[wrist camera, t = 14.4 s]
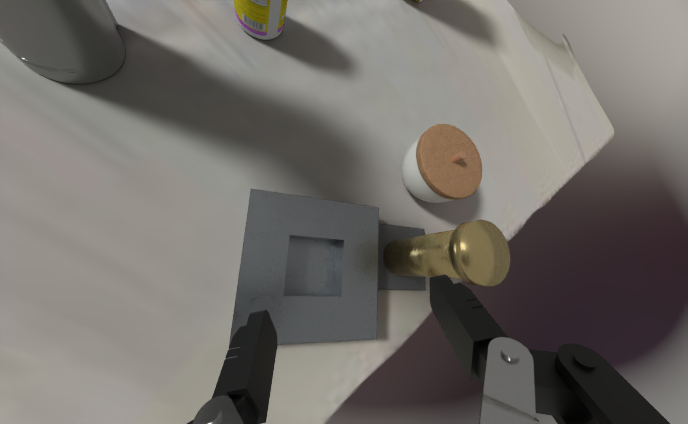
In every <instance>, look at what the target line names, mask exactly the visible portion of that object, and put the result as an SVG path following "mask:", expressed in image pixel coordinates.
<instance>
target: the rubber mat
mask: <svg viewBox="0 0 688 424" xmlns="http://www.w3.org/2000/svg"><path fill="white" fill-rule="evenodd" d="M422 235H424V229H419V228H411V227H402V226H394V225H386V224H378V283H377V289H402V290H426V288H425V277H418V276H400V275H394V274H392V273H391V272H390V271H389V270H388V269H387V268H386V266H385V264H384V260H383V253H384V250H385V247H386V246H387V245H388V244H389V243H390V242H391V241H394V240H399V239H405V238H411V237H417V236H422Z"/></svg>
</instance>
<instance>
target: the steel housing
mask: <svg viewBox="0 0 688 424" xmlns="http://www.w3.org/2000/svg"><path fill="white" fill-rule="evenodd" d="M378 223H379V208H378V207H371V206H364V205H358V204H351V203H344V202H337V201H331V200H324V199H317V198H311V197H304V196H297V195H290V194H284V193H277V192H270V191H264V190H257V189H251V192H250V199H249V206H248V213H247V221H246V228H245V235H244V242H243V250H242V257H241V264H240V271H239V278H238V286H237V293H236V300H235V307H234V315H233V322H232V329H231V336H230V343H231V340H232V337H233V336H234V334H235V333H236V332H237V330H238V329H239V328H240V327H241V326H246V324H247V321H248V317H249V315H250V313H253V312H258V311H263V310H267V311H268V312H269V315H270V317H271V320H272V322H273V324H274V327H275V329H276V332H277V344H290V343H310V342H330V341H350V340H369V339H377V283H378ZM229 346H230V344H229Z"/></svg>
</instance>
